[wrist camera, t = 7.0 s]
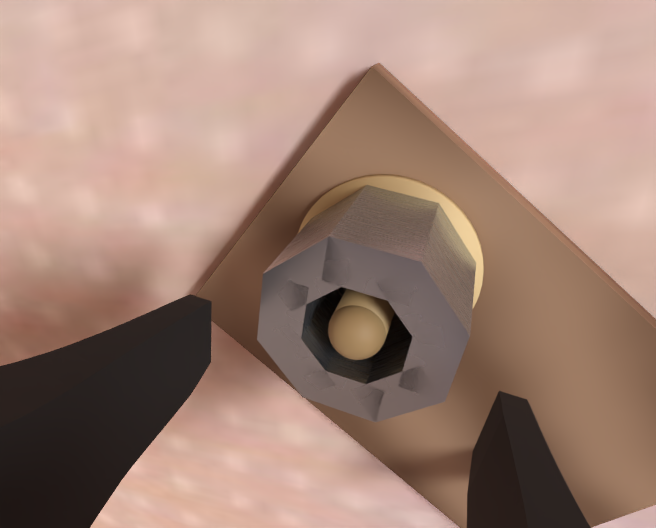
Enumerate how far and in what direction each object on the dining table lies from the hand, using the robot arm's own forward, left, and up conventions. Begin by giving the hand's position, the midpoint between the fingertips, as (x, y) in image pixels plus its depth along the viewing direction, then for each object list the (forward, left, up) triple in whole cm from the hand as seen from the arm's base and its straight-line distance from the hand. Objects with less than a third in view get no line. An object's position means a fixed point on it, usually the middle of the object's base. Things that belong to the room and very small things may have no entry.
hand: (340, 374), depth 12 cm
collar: (0, 0, -5) cm, 5 cm away
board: (-1, -4, -7) cm, 8 cm away
